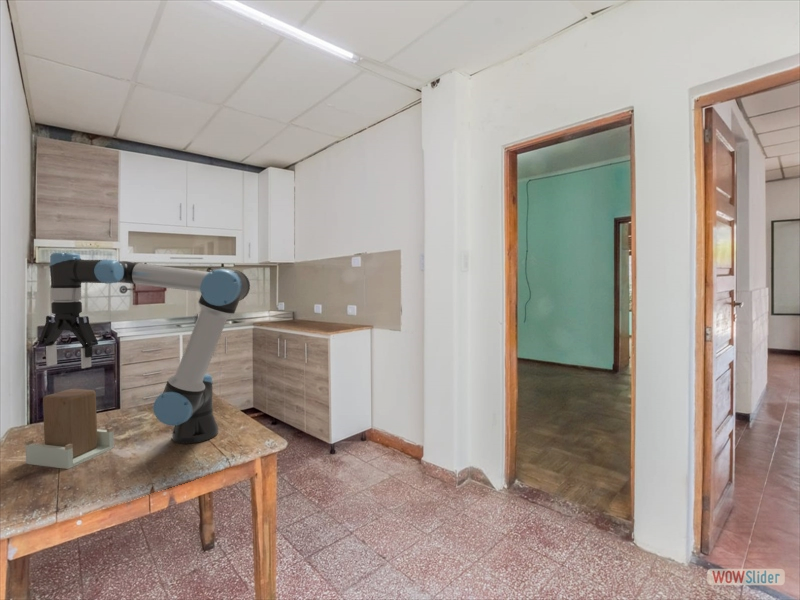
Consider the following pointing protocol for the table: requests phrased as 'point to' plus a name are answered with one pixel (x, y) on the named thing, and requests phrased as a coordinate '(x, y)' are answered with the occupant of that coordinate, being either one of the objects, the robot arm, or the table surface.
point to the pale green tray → (66, 452)
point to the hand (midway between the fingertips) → (69, 366)
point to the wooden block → (71, 420)
